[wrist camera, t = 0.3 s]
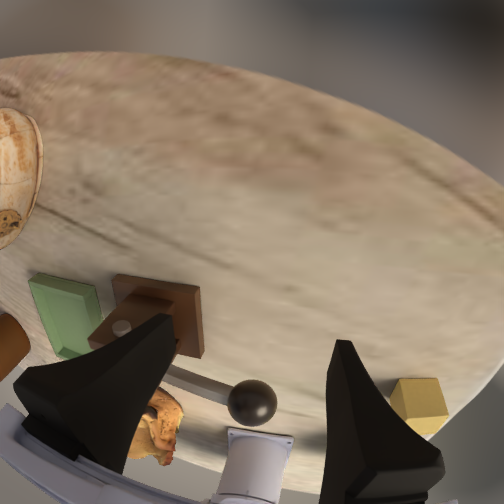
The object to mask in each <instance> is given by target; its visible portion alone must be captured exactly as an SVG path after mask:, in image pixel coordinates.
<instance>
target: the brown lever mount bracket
mask: <svg viewBox="0 0 504 504" xmlns="http://www.w3.org/2000/svg"><path fill="white" fill-rule="evenodd" d="M111 281H112V286H113V290H114V295H115V300H116V304H117V307H116V308H115V309H114V310H113V311H112V312H111V313H110V314H109V316H108V317H107V318H106V319H105V320H104V321H103V322H102V323H101V324H100V325H99V326H98V327H97V328H96V329H95V331H94V332H93V333H92V334H91V335H90V336H89V337H88V338H87V341H88V343H89V346H90V348H91V349H93V350H96V349H98V348H101V347H103V346H105V345H107V344H109V343H110V342H112V341H114V340H116V339H118V338H119V337H121V336H123V335H125V334H126V333H128V332H130V331H131V330H133V329H134V328H136V327H138V326H139V325H141V324H142V323H144V322H145V321H147V320H149V319H150V318H152V317H153V316H155V315H157V314H158V313H164V314H169V315H172V320H173V327H174V335H175V342H176V351H175V354H174V357H173V359H172V361H171V364H172V362H173V360H174V358H175V357H176V355H177V354H180V355H185V356H189V357H194V358H199V359H201V357H202V355H203V353H204V340H203V327H202V314H201V300H200V287H197V286H190V285H183V284H177V283H170V282H164V281H157V280H151V279H145V278H139V277H133V276H127V275H121V274H118V275H116V276H115V277H114V278H113V279H112V280H111ZM161 381H162V380H161ZM160 383H161V382H160ZM159 385H160V384H159ZM159 385H158V387H159ZM158 387H157V388H158ZM156 390H157V389H156ZM156 390H155V392H156ZM155 392H154V394H155ZM154 394H153V396H154ZM153 396H152V397H153ZM152 397H151V399H152ZM151 399H150V400H151Z"/></svg>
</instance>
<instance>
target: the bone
mask: <svg viewBox="0 0 504 504" xmlns="http://www.w3.org/2000/svg"><path fill="white" fill-rule="evenodd" d="M155 408H156V409H157V411H158V413H157V411H156V409H155ZM182 417H184V416H183V410H182V407H181V405H180V404H179V403H178V402H176V400H175V399H174V398H173V397H172V396H171V395H170V394H169V393H167V392H166V391H165V390H163V389H162V388H160V387H158V388H157V390H156V392H155V394H154V396H153V397H152V399H151V400H150V401H149V402H148V404H147V406H146V408H145V410H144V413H143V415H142V417H141V420H140V422H139V424H138V427H137V430H136V432H135V435H134V437H133V440H132V443H131V446H130V449H129V452H128V455H127V457H129V458H132V459H139V458H144V457H146V456H147V455H153V456H154V457H155V458H156V459H157V460H158V462H159V464H160V465H163V466H166V465H169V464H170V463H171V461H172V460H173V457H172V455H173V451H175V444H176V440H175V438H176V436H175V434H174V433H176V434H177V433H179V430H178V428H179V425H180V422H181V419H182Z"/></svg>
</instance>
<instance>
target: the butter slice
mask: <svg viewBox="0 0 504 504" xmlns="http://www.w3.org/2000/svg"><path fill="white" fill-rule="evenodd" d="M390 404H391V407H392V409H393V410H394V411H395V412H396V413H397V414H398V415H399V416H400V417H401V418H402V419H403V420H404V421H405V422H406V423H407V424H408V425H409V426H410V427H411V428H412V429H413V430H414V431H415V432H416V433H418V434H419V435H424V434H435V433H436V432H437V431H438V430H439V428H440V427H441V426H442V424H443V423H444V422H445V421H446V419H447V418H448V417H449V413H448V410H447V407H446V403H445V400H444V397H443V394H442V391H441V388H440V384H439V381H438V379H437V378H432V379H399V380H398V382H397V384H396V386H395V388H394V390H393V392H392V394H391V396H390Z"/></svg>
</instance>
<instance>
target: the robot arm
mask: <svg viewBox="0 0 504 504" xmlns="http://www.w3.org/2000/svg"><path fill="white" fill-rule="evenodd" d="M175 351H176V342H175V335H174V327H173V320H172V315H169V314H164V313H158V314H157V315H155V316H153V317H152V318H150V319H149V320H147V321H145V322H144V323H142V324H141V325H139V326H138V327H136V328H134V329H133V330H131V331H130V332H128V333H126V334H125V335H123V336H121V337H119V338H118V339H116V340H114V341H112V342H110V343H109V344H107V345H105V346H103V347H101V348H98V349H96V350H94V351H92V352H89V353H87V354H84V355H81V356H78V357H75V358H72V359H69V360H65V361H62V362H57V363H53V364H48V365H41V366H34V367H28V368H27V369H26V370H25V371H24V372H23V373H22V374H21V376H20V377H19V378H18V379H17V380H16V381H15V382H14V383H13V388H14V391H15V393H16V395H17V396H18V398H19V399H20V401H21V402H22V404H23V405H24V407H25V408H26V410H27V411H28V413H29V415H28V416H27V417H25V416H24V415H23V414H22V413H21V412H19V411H18V410H16V409H15V408H14V407H13V406H11V405H10V404H8V403H6V405H5V406H4V407H3V409H1V411H0V457H2V459H3V460H5V461H6V462H7V463H8V464H9V465H10V466H11V467H12V468H14V469H15V470H16V471H17V472H18V473H20V474H21V475H22V476H24V477H25V478H26V479H27V480H29V481H30V482H32V484H34V485H35V486H37V487H38V488H39V489H41V490H42V491H43V492H45V493H46V494H48V495H49V496H51V497H52V498H54V499H55V500H56V501H58V502H59V503H61V504H278V503H279V498H280V493H281V487H282V481H283V475H284V469H285V468H286V465H287V462H288V459H289V455H290V452H291V449H292V446H293V442H294V438H293V437H288V436H280V435H272V434H265V433H258V432H252V431H246V430H240V429H235V428H229V429H228V431H227V432H228V448H229V453H228V457H227V460H226V463H225V467H224V470H223V473H222V477H221V480H220V483H219V487H218V490H217V493H216V494H213V495H212V498H211V499H204V500H203V501H201V502H198V501H194V500H191V499H187V498H184V497H181V496H177V495H174V494H171V493H168V492H165V491H162V490H159V489H156V488H153V487H150V486H148V485H145V484H142V483H140V482H137V481H135V480H132V479H130V478H127V477H125V476H123V475H122V473H123V469H124V465H125V462H126V459H127V455H128V452H129V449H130V446H131V443H132V440H133V437H134V435H135V432H136V430H137V427H138V424H139V422H140V420H141V417H142V415H143V413H144V410H145V408H146V406H147V404H148V402H149V401H150V399H151V397H152V396H153V394H154V392H155V390H156V389H157V387H158V385H159V384H160V382H161V380H162V379H163V377H164V375H165V373H166V372H167V370H168V368H169V366H170V364H171V361H172V359H173V357H174V354H175ZM326 413H327V449H326V459H325V467H324V475H323V482H322V488H321V494H320V499H319V504H425V501H426V500H427V499H428V492H427V491H428V490H429V489H430V488H432V487H433V486H434V485H435V484H436V483H437V482H439V481H440V480H441V479H442V478H443V476H444V475H445V466H444V461H443V457H442V454H441V451H440V450H439V449H438V448H436V447H435V446H433V445H432V444H431V443H429V442H428V441H426V440H425V439H424V438H422V437H421V436H420V435H419V434H418V433H416V432H415V431H414V430H413V429H412V428H411V427H410V426H409V425H408V424H407V423H406V422H405V421H404V420H403V419H402V418H401V417H400V416H399V415H398V414H397V413H396V412H395V411H394V410H393V409H392V407H391V406H390V405H389V404H388V402H387V401H386V400H385V399H384V397H383V396H382V394H381V393H380V392H379V390H378V389H377V387H376V386H375V384H374V382H373V381H372V379H371V377H370V376H369V374H368V372H367V371H366V369H365V367H364V365H363V363H362V362H361V360H360V358H359V356H358V354H357V352H356V350H355V348H354V345H353V343H352V342H351V341H349V340H338V339H337V340H336V343H335V347H334V351H333V354H332V358H331V361H330V365H329V368H328V371H327V381H326ZM437 504H458V500H456V499H455V500H451V501H446V502H441V503H437Z"/></svg>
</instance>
